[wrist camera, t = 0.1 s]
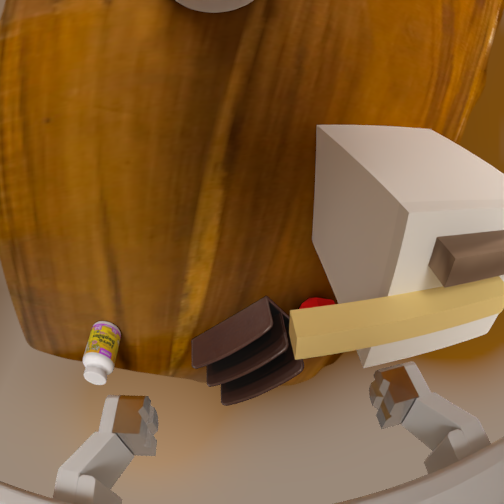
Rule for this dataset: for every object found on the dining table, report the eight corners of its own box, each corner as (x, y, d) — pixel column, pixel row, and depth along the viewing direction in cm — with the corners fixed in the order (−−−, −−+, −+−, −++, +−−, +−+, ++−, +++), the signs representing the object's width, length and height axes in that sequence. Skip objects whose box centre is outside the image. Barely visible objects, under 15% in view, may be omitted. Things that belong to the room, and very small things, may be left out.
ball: (288, 316, 65) (295, 345, 59) (303, 288, 61) (312, 317, 55) (322, 320, 67) (331, 348, 61) (339, 294, 63) (350, 321, 57)
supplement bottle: (124, 325, 63) (113, 375, 52) (119, 342, 66) (109, 391, 56) (94, 315, 60) (79, 365, 50) (91, 333, 64) (78, 381, 53)
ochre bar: (290, 310, 26) (297, 337, 24) (497, 274, 28) (512, 292, 25) (289, 333, 28) (295, 360, 26) (488, 294, 29) (501, 312, 27)
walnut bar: (436, 236, 24) (455, 258, 21) (528, 227, 24) (545, 243, 22) (428, 265, 25) (444, 287, 23) (519, 250, 26) (535, 266, 24)
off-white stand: (316, 124, 43) (409, 212, 22) (430, 129, 44) (546, 206, 23) (311, 240, 55) (363, 368, 34) (411, 231, 56) (487, 333, 35)
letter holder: (293, 319, 66) (307, 375, 55) (221, 358, 72) (224, 411, 61) (266, 293, 61) (277, 353, 50) (191, 338, 67) (189, 394, 55)
